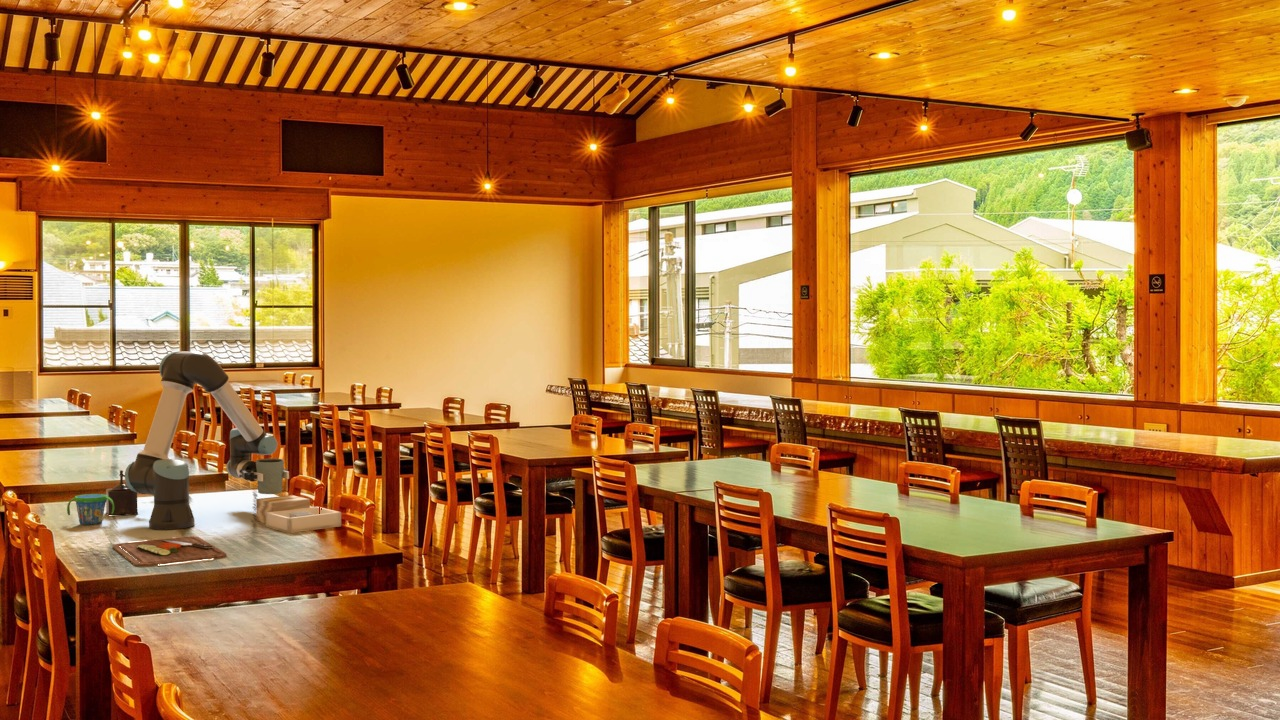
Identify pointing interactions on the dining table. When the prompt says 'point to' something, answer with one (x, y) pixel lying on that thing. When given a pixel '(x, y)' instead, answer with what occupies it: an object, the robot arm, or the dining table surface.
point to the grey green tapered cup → (270, 475)
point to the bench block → (279, 505)
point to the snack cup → (90, 508)
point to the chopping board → (169, 551)
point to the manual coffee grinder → (121, 499)
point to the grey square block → (299, 514)
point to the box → (303, 520)
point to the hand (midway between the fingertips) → (275, 476)
